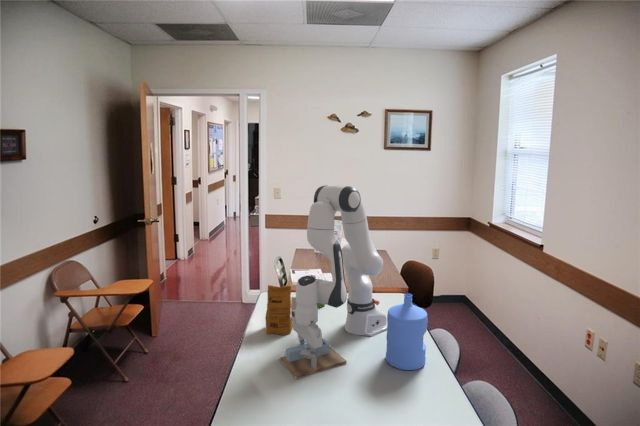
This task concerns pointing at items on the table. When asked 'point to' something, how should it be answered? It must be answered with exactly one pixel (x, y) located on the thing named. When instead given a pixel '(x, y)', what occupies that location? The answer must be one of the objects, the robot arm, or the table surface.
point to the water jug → (406, 335)
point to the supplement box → (293, 302)
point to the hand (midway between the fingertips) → (307, 348)
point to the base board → (323, 363)
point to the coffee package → (278, 310)
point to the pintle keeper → (308, 355)
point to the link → (293, 352)
